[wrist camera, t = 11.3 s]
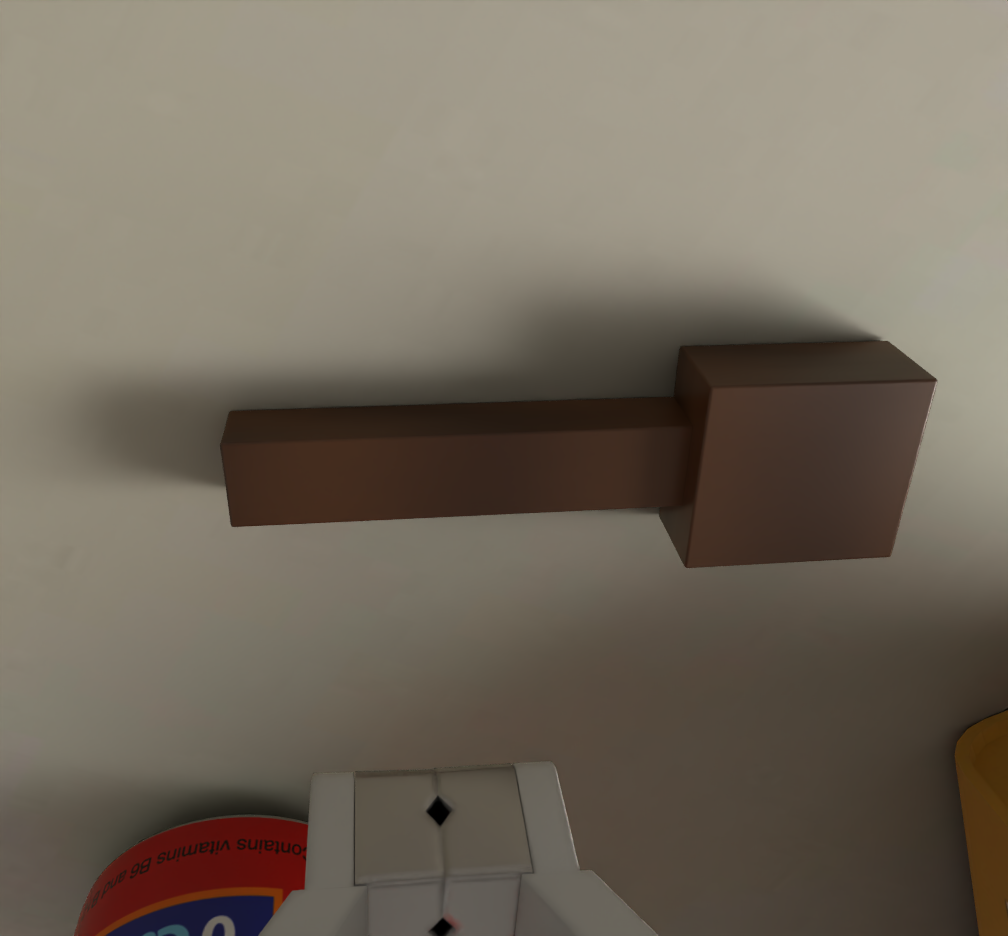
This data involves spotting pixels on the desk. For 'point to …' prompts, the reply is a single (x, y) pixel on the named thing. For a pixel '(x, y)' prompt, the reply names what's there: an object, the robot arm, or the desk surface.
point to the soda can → (200, 879)
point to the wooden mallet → (623, 455)
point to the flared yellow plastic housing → (986, 818)
